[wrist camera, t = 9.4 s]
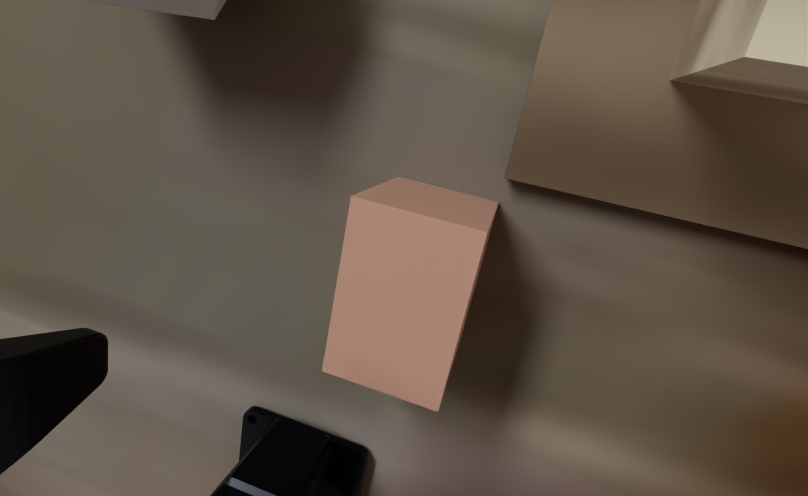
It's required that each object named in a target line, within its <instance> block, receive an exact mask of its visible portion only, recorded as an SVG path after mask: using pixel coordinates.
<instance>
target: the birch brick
mask: <svg viewBox="0 0 808 496" xmlns="http://www.w3.org/2000/svg"><path fill="white" fill-rule="evenodd" d="M670 81H676V82H682V83H687V84H693V85H699V86H705V87H710V88H716V89H722V90H728V91H734V92H739V93H745V94H751V95H757V96H762V97H768V98H774V99H780V100H786V101H791V102H797V103H803V104H808V0H698V2H697V5H696V7H695V10H694V13H693V16H692V19H691V21H690V24H689V27H688V30H687V33H686V35H685V38H684V41H683V44H682V46H681V49H680V52H679V55H678V58H677V60H676V63H675V66H674V69H673V71H672V74H671V77H670Z"/></svg>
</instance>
